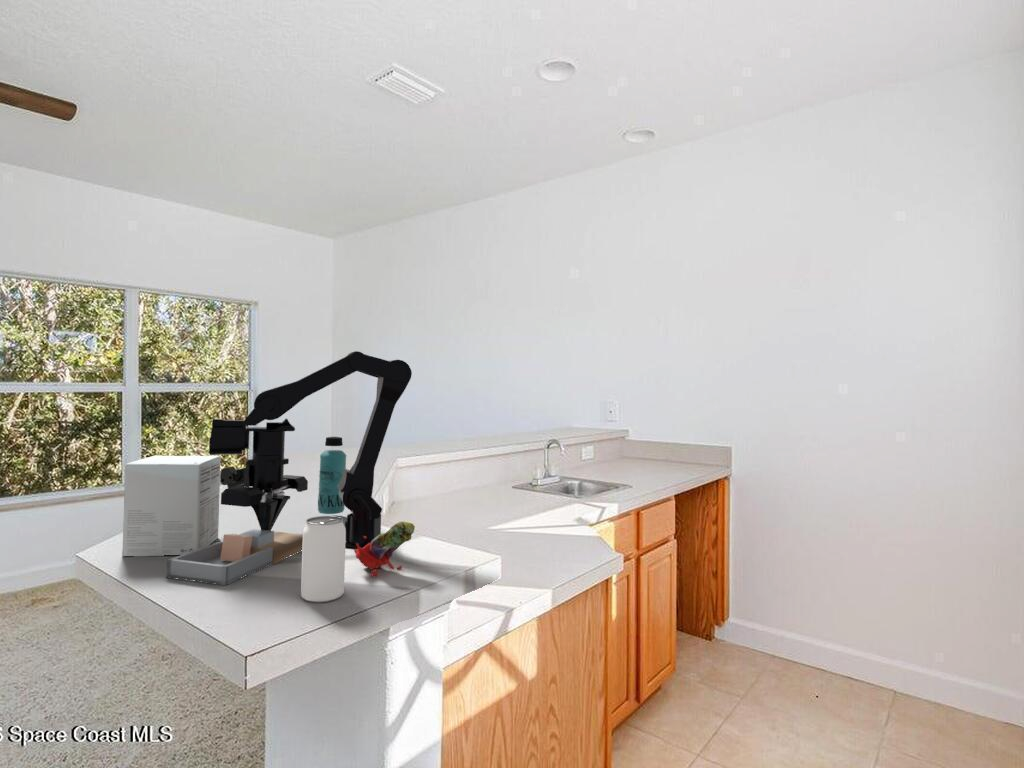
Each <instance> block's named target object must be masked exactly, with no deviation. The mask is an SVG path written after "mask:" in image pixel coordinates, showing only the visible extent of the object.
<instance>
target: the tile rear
mask: <svg viewBox="0 0 1024 768" xmlns="http://www.w3.org/2000/svg"><path fill="white" fill-rule="evenodd" d="M274 531H275V530H271V531H268V530H261V529H258V528H257V529H256V528H253V529H251V530H247V531H245V532H242V533H239V535H248V536H252V542H251V547H257V548H259V547H261V546H264V545H266V544H269V543H271V542H274Z"/></svg>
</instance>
